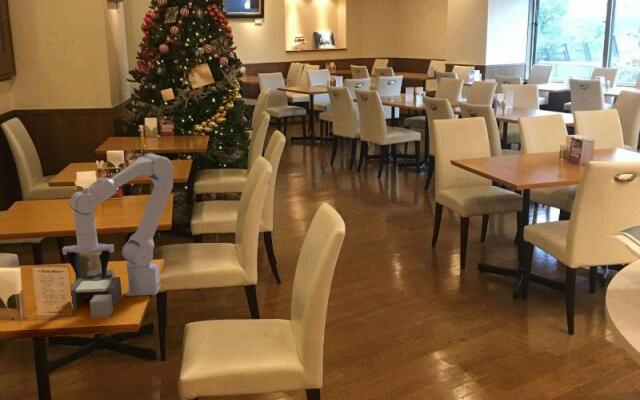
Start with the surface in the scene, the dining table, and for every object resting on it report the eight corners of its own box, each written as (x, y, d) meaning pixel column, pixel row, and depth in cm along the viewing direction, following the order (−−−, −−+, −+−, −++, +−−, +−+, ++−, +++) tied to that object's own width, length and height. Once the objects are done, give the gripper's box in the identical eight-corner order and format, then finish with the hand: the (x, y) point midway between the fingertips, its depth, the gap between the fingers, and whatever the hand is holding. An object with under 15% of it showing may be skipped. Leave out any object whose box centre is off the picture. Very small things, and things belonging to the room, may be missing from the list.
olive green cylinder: (88, 288, 212) (84, 256, 209) (71, 287, 214) (67, 255, 211) (98, 281, 218) (94, 250, 215) (81, 280, 219) (77, 249, 216)
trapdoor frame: (122, 294, 206) (119, 276, 205) (114, 306, 198) (112, 288, 196) (80, 296, 206) (78, 278, 204) (71, 308, 197) (68, 290, 195)
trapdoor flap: (116, 281, 208) (115, 269, 207) (106, 296, 197) (105, 283, 196) (87, 282, 208) (86, 270, 207) (76, 297, 196) (74, 285, 195)
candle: (88, 277, 222) (84, 249, 219) (101, 272, 226) (97, 244, 224) (99, 280, 219) (95, 251, 216) (112, 274, 224) (108, 247, 221)
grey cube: (113, 309, 196) (111, 294, 194) (109, 317, 191) (107, 301, 190) (96, 310, 195) (94, 295, 194) (91, 318, 191) (89, 302, 189)
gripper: (56, 237, 190) (62, 281, 193) (107, 235, 190) (112, 279, 194) (64, 230, 196) (70, 272, 200) (113, 228, 197) (118, 270, 201)
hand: (91, 275), depth 197 cm, fingers open, 7 cm apart
